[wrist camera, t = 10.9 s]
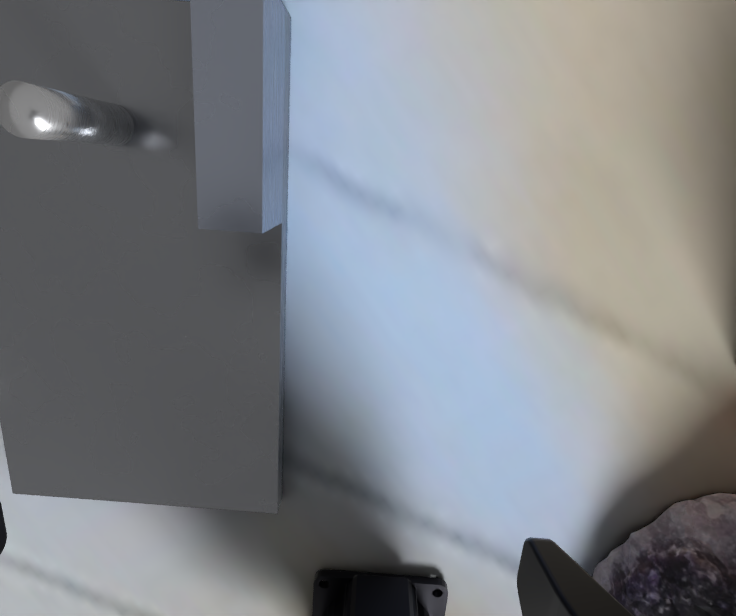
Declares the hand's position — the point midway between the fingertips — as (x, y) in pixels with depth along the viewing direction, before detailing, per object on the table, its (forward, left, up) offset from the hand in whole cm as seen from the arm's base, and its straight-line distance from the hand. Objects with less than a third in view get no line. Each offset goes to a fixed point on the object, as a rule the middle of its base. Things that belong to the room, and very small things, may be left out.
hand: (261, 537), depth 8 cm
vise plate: (+1, +8, -12) cm, 14 cm away
